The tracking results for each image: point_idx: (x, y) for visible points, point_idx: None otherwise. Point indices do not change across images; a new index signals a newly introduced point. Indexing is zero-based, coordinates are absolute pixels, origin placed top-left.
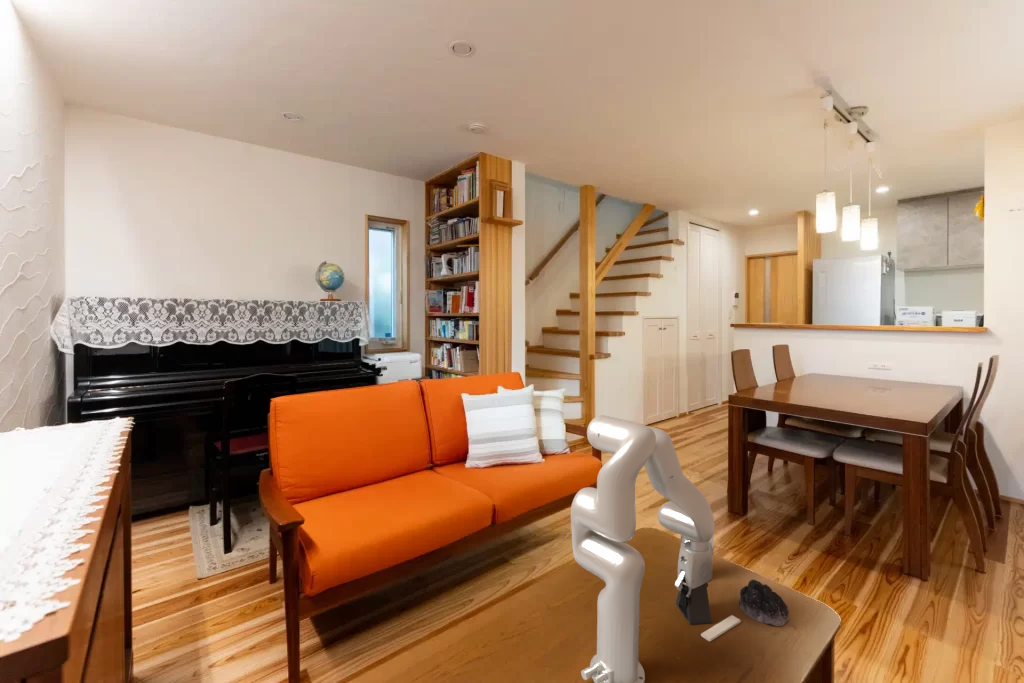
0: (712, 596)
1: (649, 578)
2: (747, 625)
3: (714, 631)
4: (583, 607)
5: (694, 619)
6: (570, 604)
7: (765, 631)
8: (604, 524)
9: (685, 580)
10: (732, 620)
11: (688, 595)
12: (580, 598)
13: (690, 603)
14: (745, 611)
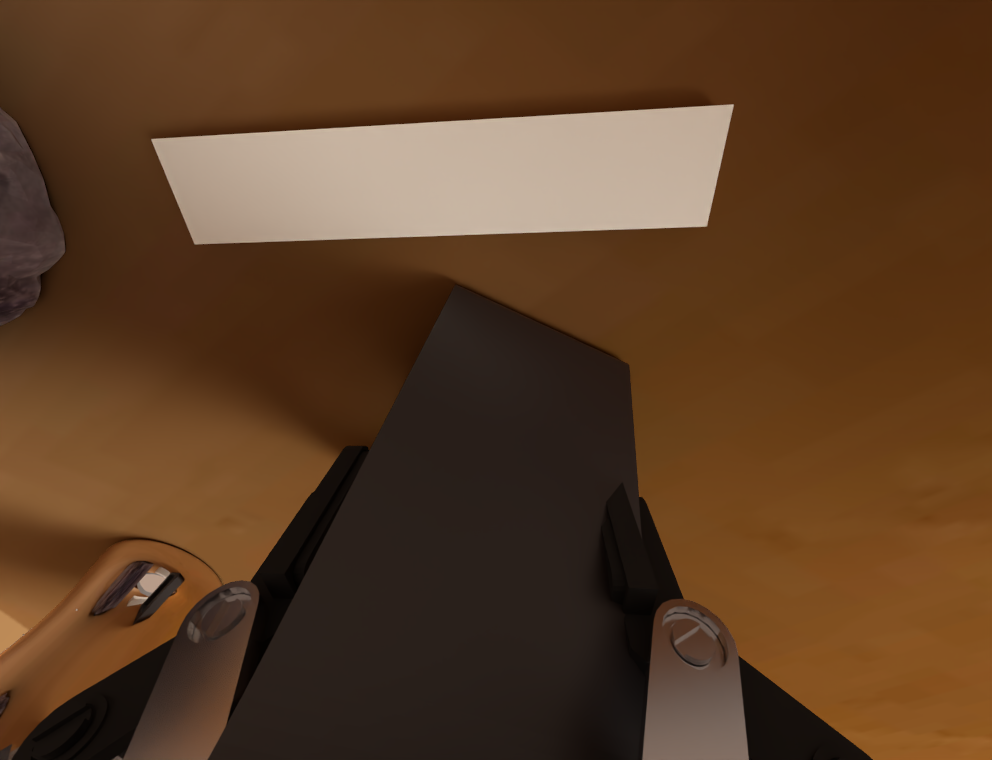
0: (211, 459)
1: None
2: (123, 58)
3: (558, 171)
4: (934, 696)
5: (598, 371)
6: (949, 722)
7: None
8: None
9: None
10: (243, 184)
11: (689, 631)
12: (868, 721)
13: (626, 506)
14: (13, 192)
